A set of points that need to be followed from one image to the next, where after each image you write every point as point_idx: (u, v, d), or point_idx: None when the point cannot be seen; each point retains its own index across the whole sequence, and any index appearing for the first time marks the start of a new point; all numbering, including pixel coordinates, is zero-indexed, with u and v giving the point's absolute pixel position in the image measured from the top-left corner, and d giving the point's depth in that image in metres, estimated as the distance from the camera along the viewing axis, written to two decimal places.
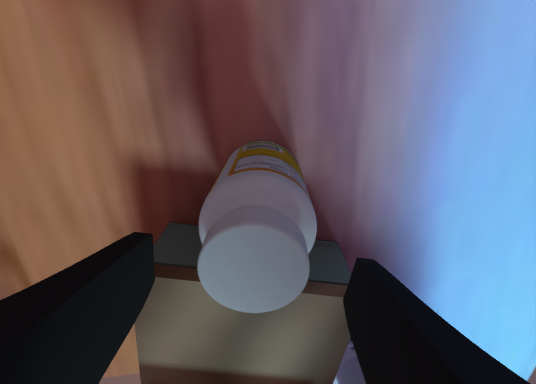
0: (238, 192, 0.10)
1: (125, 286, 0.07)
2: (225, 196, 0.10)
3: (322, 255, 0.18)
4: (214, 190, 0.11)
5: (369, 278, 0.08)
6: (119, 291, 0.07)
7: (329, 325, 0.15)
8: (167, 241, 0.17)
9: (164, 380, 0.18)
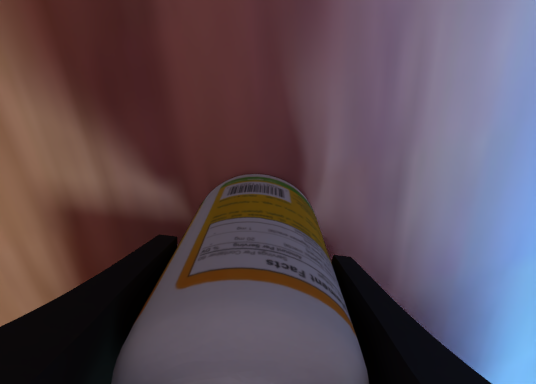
0: (188, 358, 0.04)
1: None
2: (157, 362, 0.04)
3: None
4: (139, 330, 0.05)
5: (342, 275, 0.08)
6: (149, 294, 0.07)
7: None
8: None
9: None
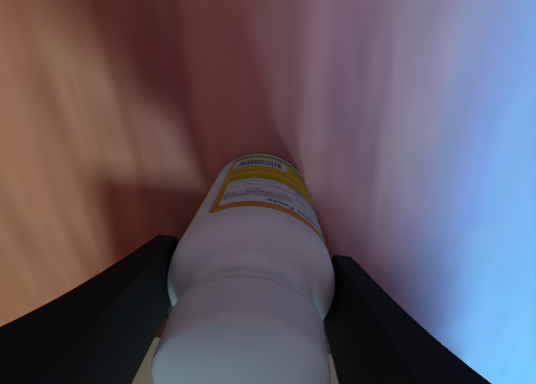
0: (221, 244, 0.07)
1: (154, 289, 0.07)
2: (203, 248, 0.07)
3: None
4: (188, 236, 0.07)
5: (342, 275, 0.08)
6: (149, 294, 0.07)
7: None
8: None
9: None
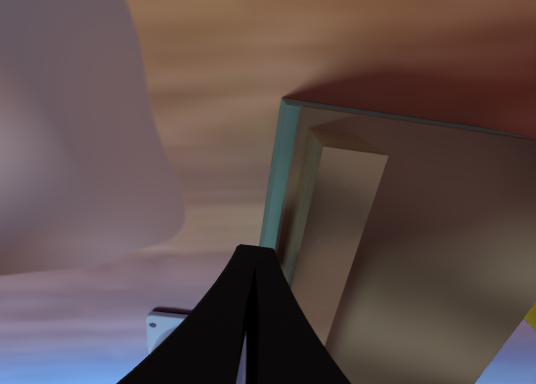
0: None
1: (249, 299, 0.07)
2: None
3: None
4: None
5: (254, 265, 0.08)
6: (248, 305, 0.07)
7: (434, 375, 0.13)
8: None
9: None
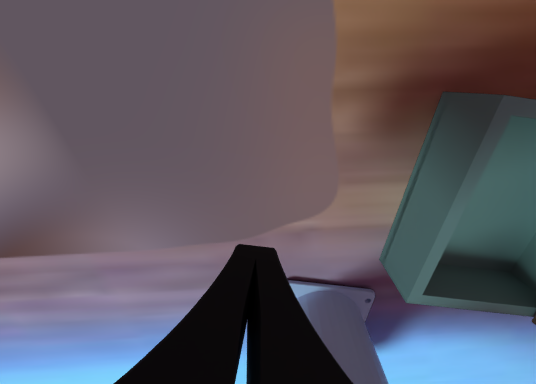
0: None
1: (248, 299, 0.07)
2: None
3: None
4: None
5: (255, 265, 0.08)
6: (247, 305, 0.07)
7: None
8: None
9: None
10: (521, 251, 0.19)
